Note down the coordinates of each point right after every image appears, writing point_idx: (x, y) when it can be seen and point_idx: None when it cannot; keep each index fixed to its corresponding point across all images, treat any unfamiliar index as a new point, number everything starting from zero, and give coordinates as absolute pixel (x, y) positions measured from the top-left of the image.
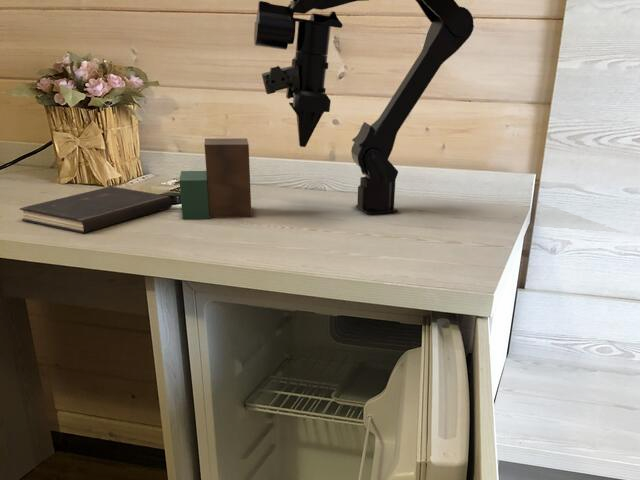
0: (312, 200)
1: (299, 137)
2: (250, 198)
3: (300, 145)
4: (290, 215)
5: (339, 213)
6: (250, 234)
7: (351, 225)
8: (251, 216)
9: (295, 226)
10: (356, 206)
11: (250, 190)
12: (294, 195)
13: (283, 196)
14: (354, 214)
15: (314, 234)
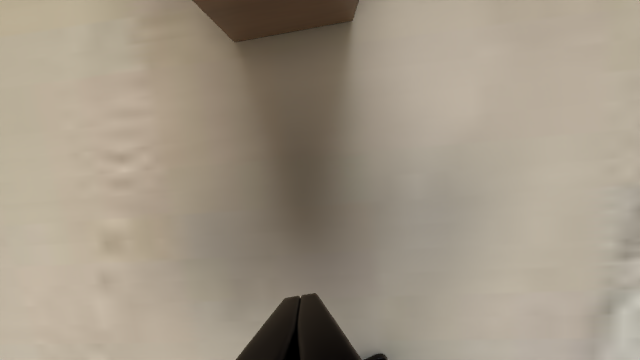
0: (480, 222)
1: (256, 335)
2: (215, 22)
3: (283, 303)
4: (271, 167)
5: None
6: (24, 67)
7: (183, 341)
8: (234, 41)
9: (142, 192)
10: (376, 357)
11: (206, 13)
12: (553, 158)
13: (538, 121)
14: None
15: (68, 250)
